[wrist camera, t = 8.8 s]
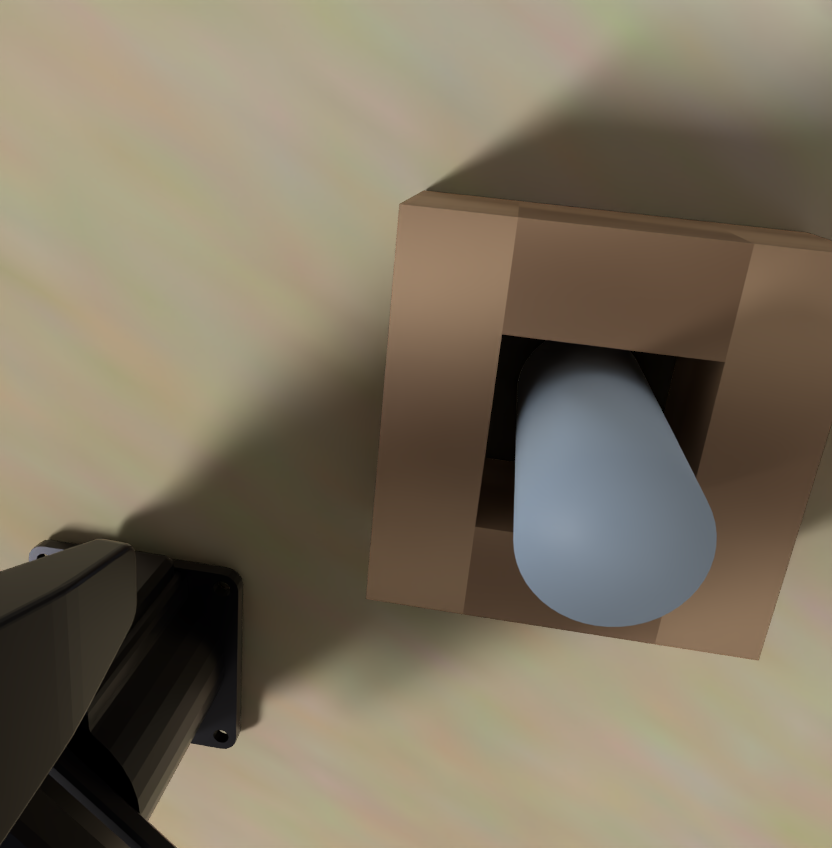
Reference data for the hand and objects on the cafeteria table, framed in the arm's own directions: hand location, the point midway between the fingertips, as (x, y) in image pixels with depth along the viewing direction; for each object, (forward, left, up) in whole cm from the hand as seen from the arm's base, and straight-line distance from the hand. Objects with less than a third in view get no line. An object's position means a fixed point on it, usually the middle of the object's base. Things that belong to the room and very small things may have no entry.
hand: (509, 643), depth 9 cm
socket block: (-1, -2, -12) cm, 12 cm away
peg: (-1, -2, -12) cm, 12 cm away
